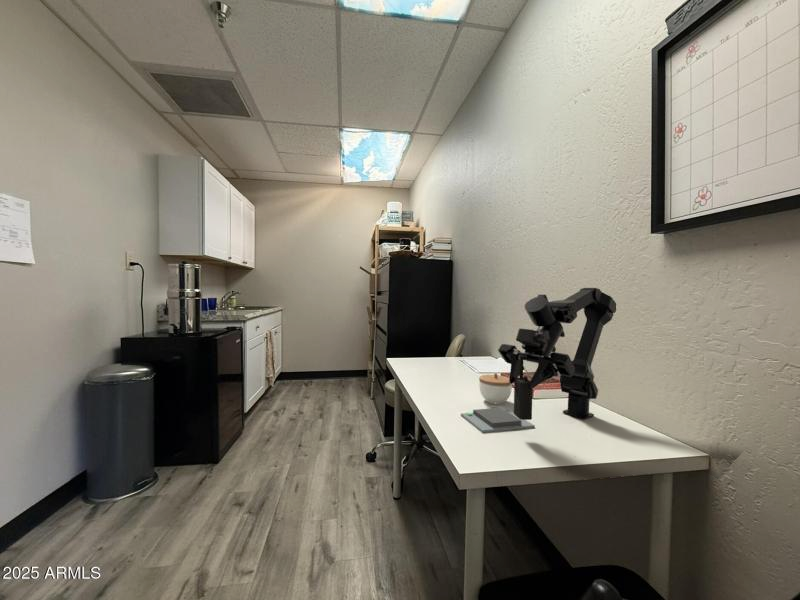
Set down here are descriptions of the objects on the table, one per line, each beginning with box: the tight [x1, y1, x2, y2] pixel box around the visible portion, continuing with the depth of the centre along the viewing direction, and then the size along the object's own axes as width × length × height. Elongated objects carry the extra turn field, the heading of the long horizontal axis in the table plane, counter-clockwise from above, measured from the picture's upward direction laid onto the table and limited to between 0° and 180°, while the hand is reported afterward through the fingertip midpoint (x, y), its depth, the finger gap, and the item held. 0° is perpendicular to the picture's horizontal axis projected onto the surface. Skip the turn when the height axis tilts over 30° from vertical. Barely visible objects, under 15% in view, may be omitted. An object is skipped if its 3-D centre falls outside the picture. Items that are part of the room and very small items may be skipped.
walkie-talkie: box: [513, 356, 533, 421], centre depth 81 cm, size 5×3×15 cm
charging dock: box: [460, 407, 536, 433], centre depth 91 cm, size 16×12×2 cm
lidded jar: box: [478, 372, 513, 405], centre depth 109 cm, size 11×11×9 cm
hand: (519, 385), depth 80 cm, fingers closed on walkie-talkie, 5 cm apart
